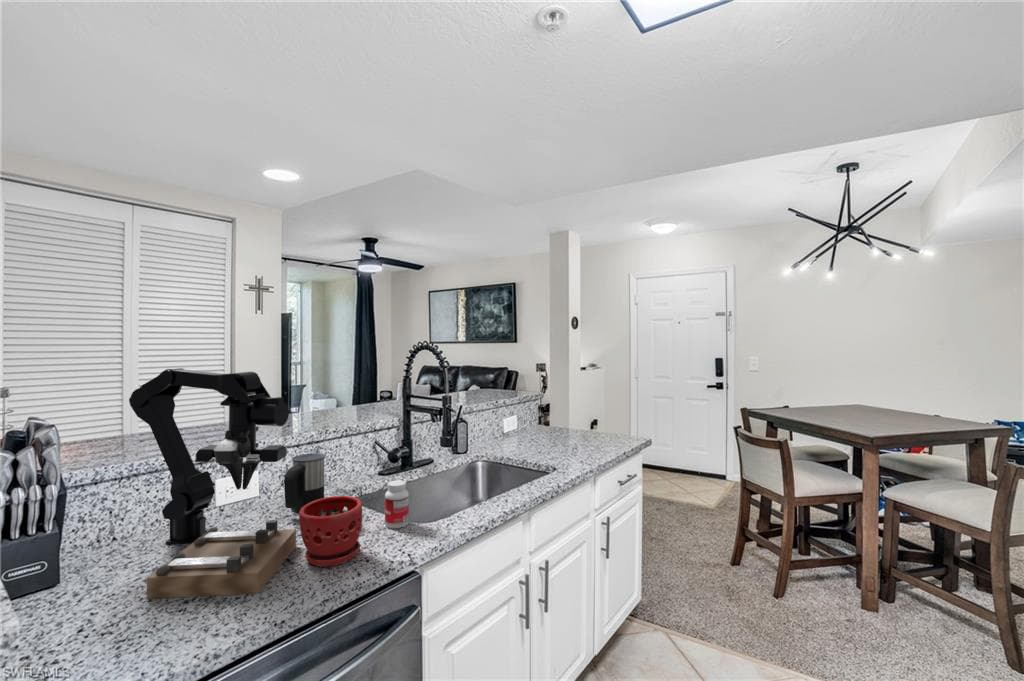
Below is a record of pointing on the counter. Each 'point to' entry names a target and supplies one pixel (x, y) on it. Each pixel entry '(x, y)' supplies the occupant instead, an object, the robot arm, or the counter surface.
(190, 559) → the strap
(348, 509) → the plant pot
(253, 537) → the strap
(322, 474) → the milk frother
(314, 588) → the counter surface
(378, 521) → the counter surface
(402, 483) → the pill bottle
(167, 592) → the block
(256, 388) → the robot arm
